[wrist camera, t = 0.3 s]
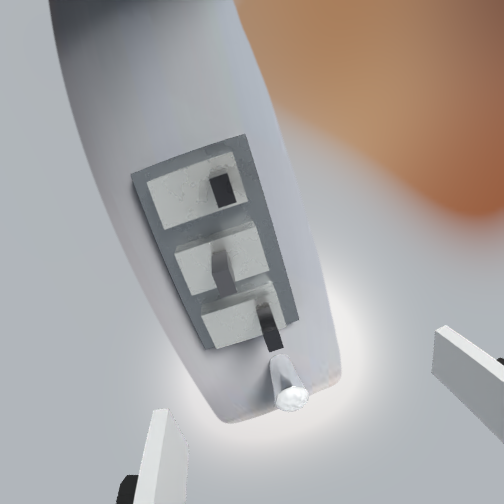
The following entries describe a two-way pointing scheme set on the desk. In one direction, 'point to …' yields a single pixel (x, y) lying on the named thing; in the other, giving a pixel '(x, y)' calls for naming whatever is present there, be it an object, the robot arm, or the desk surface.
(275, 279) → the breaker panel
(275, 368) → the milkshake
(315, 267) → the desk surface
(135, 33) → the desk surface
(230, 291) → the breaker
